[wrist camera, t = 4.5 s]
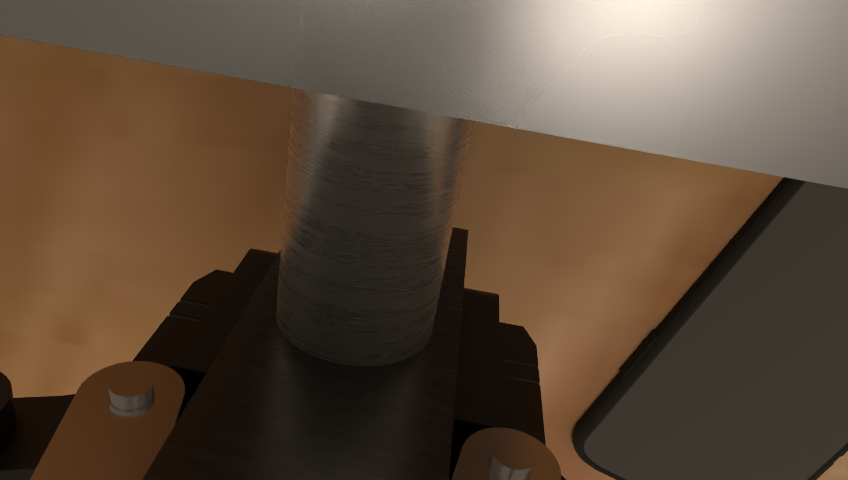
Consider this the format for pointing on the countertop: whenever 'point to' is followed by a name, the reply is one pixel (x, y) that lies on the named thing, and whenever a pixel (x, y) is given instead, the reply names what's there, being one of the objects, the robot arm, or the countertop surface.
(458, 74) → the bearing bracket
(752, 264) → the smartphone
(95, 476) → the robot arm
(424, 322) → the shaft
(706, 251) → the countertop surface
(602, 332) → the countertop surface
